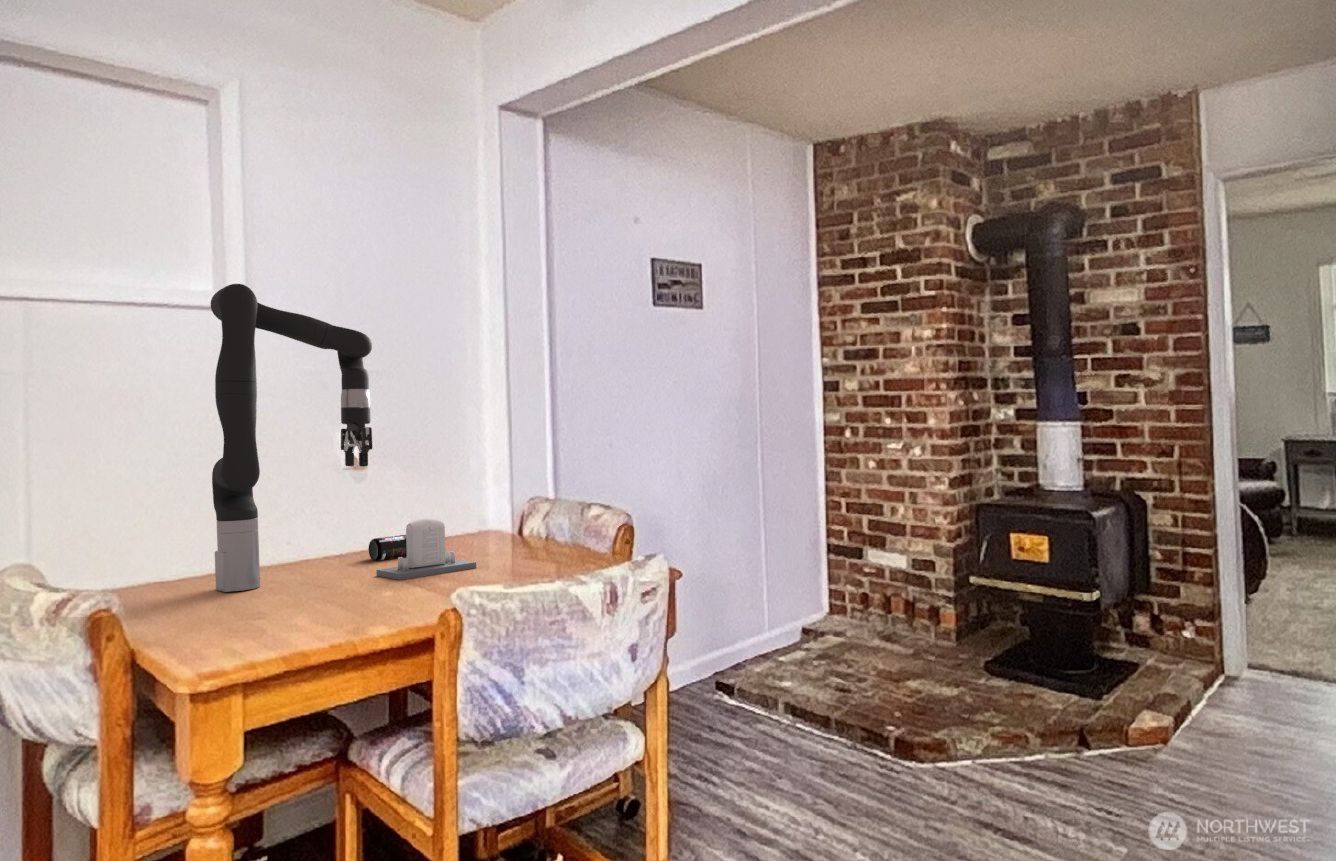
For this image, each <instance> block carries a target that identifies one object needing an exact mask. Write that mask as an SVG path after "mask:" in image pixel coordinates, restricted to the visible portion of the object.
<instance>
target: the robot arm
mask: <svg viewBox="0 0 1336 861" xmlns="http://www.w3.org/2000/svg"><path fill="white" fill-rule="evenodd" d="M210 309H211V312H212V314H213V315H214V317H215V318H217V319H218V320H219V321H220V322H221V334H222V336H221V338H222V339H221V347H220V351H219V355H218V359H217V364H216V368H215V369H216V370H215V376H214V377H215V378H214V383H215V384H214V387H215V389H214V391H215V392H214V393H215V394H214V395H215V406H216V409H217V415H218V418H219V421H220V424H221V425H220V426H221V428H222V433H223V449H222V453H223V454H222V457H221V458H220V459H218V460H217V461H216V462H215V463H214V466H213V468H212V473H211V484H212V485H211V487H212V498H213V499H212V500H213V508H214V511H215V516H216V517H215V518H216V540H217V541H216V543H217V545H216V546H217V548H216V549H217V550H216V551H214V571H215V573H214V574H215V590H216V591H219V592H222V593H229V592H239V591H247V590H252V589H257V588H259V587H261V567H260V544H259V542H260V541H259V540H260V539H259V516H258V514H259V512H258V510H259V509H258V507H257V505H256V502H255V501H254V491H253V488H254V487H255V486H256V484H257V483H258V481H259V478H260V472H261V471H260V470H261V469H260V461H259V454H258V444H257V435H256V432H257V398H258V395H257V394H258V392H257V391H258V390H257V388H258V387H257V384H258V383H257V362H256V361H257V360H256V359H257V358H256V346H255V341H256V340H255V336H256V329H259V330H262V331H267V332H270V333H273V334H276V335H280V336H283V337H286V338H290V339H291V340H295V341H298V342H300V343H303V344H306V345H309V346H313V347H315V348H318V349H321V350H322V349H323V350H332V351H337V359H338V365H339V369H340V371H341V373H340V374H341V394H340V423H341V424H342V425H346V428H341V429H340V450H341V451H343V453H344V463H345V464H344V465H345V467H354V465H355V448H356V447H357V449H358V465H359V467H368V466H369V452H370V450H373V433H372V432H373V431H372V430H373V429H372V427H370V426H366V425H369V424H370V423H371V395H370V375H369V372H368V370H367V369H365V364H364V358H365V357H367V356H368V355H369V354H370V353H372V352H371V351H372V350H373V343H372V340H371V338H370V337H369V336H368V335H367V334H365V333H363V332H362V331H358V330H355V329H352V328H348V327H347V328H346V327H343V326H338V325H334V324H331V323H329V322H326V321H323V320H320V319H317V318H314V317H311V316H309V315H308V316H307V315H305V314H302V313H301V314H300V313H296V312H291V311H286V310H282V309H277V308H274V307H270V306H268V305H265V304H262V303H260V302H258V300H257V297H256V295H255V293H254V291H253V290H252V289H251V288H250V287H248V286H247V285H245V284H243V283H231V284H229V285H226V286H224V287H223V288H220V289H219V290H218V291H216V292H215V293H214V294H213V296H212V297H211V299H210Z"/></svg>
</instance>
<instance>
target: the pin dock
mask: <svg viewBox="0 0 1336 861" xmlns="http://www.w3.org/2000/svg"><path fill="white" fill-rule="evenodd" d="M445 557H446V562H445V564H441V565H433V566H426V567H418V568H408V564H407V557H398V558H397V566H394V567H388V568H380V569H376V571H375V572H376V577H381V578H387V579H393V580H398V581H402V580H408V579H413V578H414V579H415V578H421V577H426V576H435V575H441V574H447V573H453V572H459V571H465V570H471V569H476V568H477V561H476V562H475V561H472V560H471V561H470V560H461V559H456V552H455V551H452V550H451V551H450V550H445Z"/></svg>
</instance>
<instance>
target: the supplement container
mask: <svg viewBox="0 0 1336 861" xmlns="http://www.w3.org/2000/svg"><path fill="white" fill-rule="evenodd" d="M368 554H369V557H370V559H371V560H372V561H374V562H378V561H379V560H380V561H385V559H387V560H392V559H391V558H393V559H398V558H397V557H403V558H407V548H406V534H400V535H394V536H393V535H392V536H383V537H376V538H372V539H371V540H370V541H369V543H368ZM380 561H379V562H380Z"/></svg>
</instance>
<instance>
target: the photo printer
mask: <svg viewBox="0 0 1336 861" xmlns="http://www.w3.org/2000/svg"><path fill="white" fill-rule="evenodd" d="M405 535H406V548H407V556H406V558H407V564H408V568H418V567H426V566H433V565H441V564H445V562H446V557H445V551H446V526H445V523H444V521H443V520H441V519H438V518H429V517H427V518H419V519H416V520H412V521H411V522H409V523H407V525H406V527H405Z"/></svg>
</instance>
